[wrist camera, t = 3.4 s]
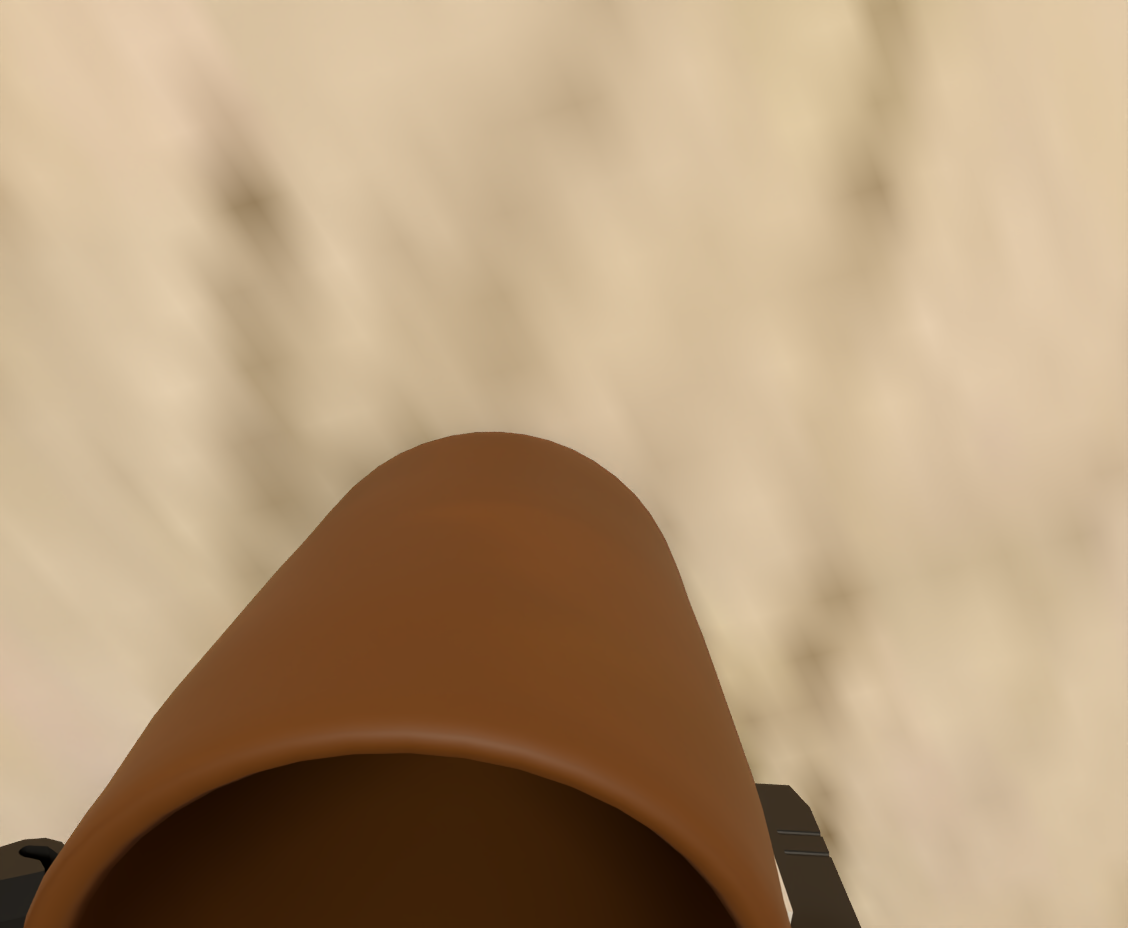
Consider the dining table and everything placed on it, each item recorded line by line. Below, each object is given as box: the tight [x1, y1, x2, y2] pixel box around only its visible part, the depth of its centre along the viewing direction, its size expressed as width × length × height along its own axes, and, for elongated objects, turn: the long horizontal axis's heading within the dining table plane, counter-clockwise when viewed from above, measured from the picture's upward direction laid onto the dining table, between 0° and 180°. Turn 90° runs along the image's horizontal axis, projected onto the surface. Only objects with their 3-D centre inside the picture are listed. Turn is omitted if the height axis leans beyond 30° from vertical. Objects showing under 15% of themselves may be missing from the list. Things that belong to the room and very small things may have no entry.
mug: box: [23, 432, 791, 928], centre depth 12 cm, size 12×8×9 cm, turn 162°
